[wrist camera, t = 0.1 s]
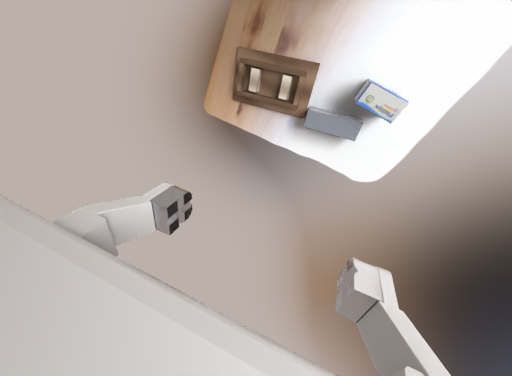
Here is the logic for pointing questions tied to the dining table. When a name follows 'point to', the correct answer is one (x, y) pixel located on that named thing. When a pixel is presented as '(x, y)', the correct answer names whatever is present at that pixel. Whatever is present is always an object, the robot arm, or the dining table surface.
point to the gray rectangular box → (333, 123)
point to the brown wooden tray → (274, 81)
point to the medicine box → (380, 101)
